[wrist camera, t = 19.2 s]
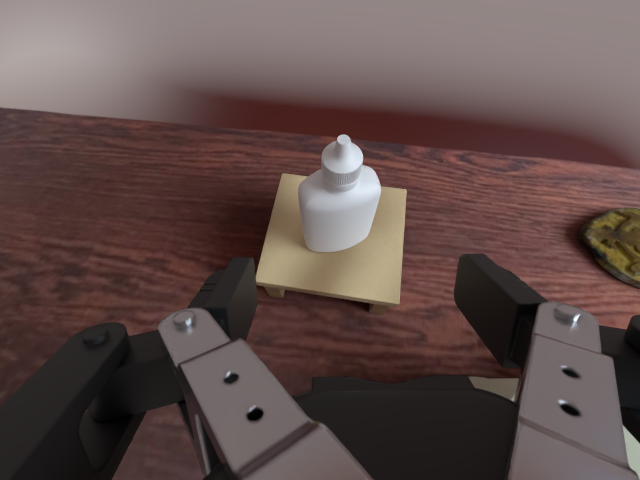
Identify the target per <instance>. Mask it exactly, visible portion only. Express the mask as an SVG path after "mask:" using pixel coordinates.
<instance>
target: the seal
mask: <svg viewBox="0 0 640 480" xmlns="http://www.w3.org/2000/svg"><path fill="white" fill-rule="evenodd" d="M579 238H580V240H581V241H582V242H584V243H585V244H586V246H587V247H588V248H589V250H591V251H592V252H593V253H594V255H595V260H596V261H597V262H598V263H599V264H600V265H601V266H602V267H603V268H604V269H605V270H607V271H608V272H609V273H611V274H612V275H613V276H615V277H616V278H618V279H620V280H622V281H623V282H625V283H627V284H629V285H632V286H634V287H638V288H640V209H636V208H621V209H616V210H611V211H608V212H605V213H603V214H601V215H599V216H597V217H595V218H593V219H591V220H590V221H588V222H587V223H586V224H584V225H583V226H582V228H581V229H580V232H579Z"/></svg>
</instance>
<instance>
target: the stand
mask: <svg viewBox="0 0 640 480" xmlns="http://www.w3.org/2000/svg"><path fill="white" fill-rule="evenodd" d="M306 178H307V176H300V175H292V174H285V173H282V175H281V179H280V183H279V187H278V191H277V195H276V199H275V203H274V207H273V210H272V214H271V218H270V222H269V226H268V230H267V234H266V238H265V242H264V246H263V249H262V253H261V257H260V261H259V265H258V269H257V273H256V284H257V285H260V286H264V288H265V289H266V291H267V292H268V294H269V296H271V297H277V298H284V293H285V290H291V291H297V292H303V293H309V294H316V295H322V296H328V297H334V298H341V299H347V300H353V301H359V302H366V303H369V312H370V313H376V314H383V313H384V312H385V311H386V310H387V309H388V308H389V307H390V306H391V307H397V306H398V305H399V301H400V285H401V270H402V254H403V238H404V223H405V207H406V191H407V190H405V189H398V188H390V187H383V186H381V194H380V198H379V202H378V205H377V209H376V212H375V215H374V219H373V222H372V225H371V228H370V231H369V234H368V236H367V237H366V238H365V239H364V240H362V241H361V242H360V243H358V244H356V245H354V246H352V247H350V248H348V249H345V250H341V251H336V252H315V251H311V250H310V249H308V247H307V246H306V243H305V239H304V235H303V230H302V223H301V215H300V208H299V199H298V187H299V185H300V184H301V182H302V181H304V180H305V179H306Z"/></svg>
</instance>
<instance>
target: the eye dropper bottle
mask: <svg viewBox="0 0 640 480" xmlns="http://www.w3.org/2000/svg"><path fill="white" fill-rule="evenodd" d="M362 163H363V154H362V152H361V150H360V149H359V147H358V146H356V145H355V144H353V143H351V141H350V138H349V136H347V135H340V136H339V137H338V138H337V141H336V142H333V143H330V144H329V145H328V146H327V147H326V148H324V150H323V153H322V157H321V169H320V170H318V171H316V172H315V173H313V174H312V175H310V176H309V177H307V178H306V179H305V180H304V181H302V182H301V184H300V185H299V187H298V199H299V208H300V215H301V223H302V230H303V235H304V239H305V243H306V246H307V247H308V249H310V250H311V251H315V252H336V251H341V250H345V249H348V248H350V247H352V246H354V245H356V244H358V243H360V242H361V241H362V240H364V239H365V238H366V237H367V236H368V234H369V231H370V228H371V225H372V222H373V219H374V215H375V212H376V209H377V205H378V202H379V198H380V194H381V186H380V182H379V180H378V177H377V175H376V173H375V171H374V170H373V169H372V168H370V167H368V166H364V165H362Z"/></svg>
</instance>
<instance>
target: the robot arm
mask: <svg viewBox="0 0 640 480" xmlns="http://www.w3.org/2000/svg"><path fill="white" fill-rule="evenodd" d="M454 298H455V303H456V305H457V307H458V308H459V310H460V311H461V312H462V314H463V315H464V316H465V318H466V319H467V320H468V322H469V323H470V324H471V326H472V327H473V329H474V330H475V331H476V333H477V334H478V335H479V337H480V338H481V339H482V341H483V342H484V343H485V345H486V346H487V348H488V349H489V350H490V352H491V353H492V354H493V356H494V357H495V358H496V360H497V361H498V363H499V364H500V365H501V367H502V368H519V367H520V368H521V372H520V376H519V380H518V385H517V389H516V394H515V398H514V402H513V401H511V400H509V399H507V398H505V397H503V396H500V395H498V394H495V393H492V392H490V391H486V390H482V389H479V388H474V386H473V384H472V382H471V381H470V379H469V377H468V375H430V376H425V377H421V378H417V379H412V380H408V381H404V382H400V383H396V384H387V383H381V382H376V381H371V380H365V379H360V378H354V377H312V390H309V391H305V392H302V393H299V394H297V395H295V396H293V397H291V396H290V395H289V393H288V392H287V391H286V390H285V389H284V387H283V386H282V385H281V384H280V383H279V382H278V380H277V379H276V378H275V377H274V376H273V374H272V373H271V372H270V371H269V370H268V368H267V367H266V366H265V365H264V364H263V363H262V361H261V360H260V359H259V358H258V357H257V355H256V354H255V353H254V352H253V351H252V349H251V348H250V347H249V346H248V345H247V343H246V338H247V335H248V332H249V329H250V326H251V323H252V320H253V317H254V314H255V311H256V307H257V287H256V277H255V267H254V260H253V258H252V257H234V258H232V259H231V261H230V262H229V264H228V266H227V267H226V269H225V270H218V271H216V272H215V273H213V274H212V275H210V276H209V277H208V278H207V280H206V281H205V283H204V285H203V286H202V287H201V289H200V292H198V293H197V294H196V296H195V297H194V299H193V300H192V302H191V303H190V305H189V306H188V307H187V308H185V309H181V310H178V311H175V312H173V313H171V314H169V315H167V316H166V317H165V318H163V319H162V320H161V322H160V323H159V325H158V330H156V331H152V332H147V333H142V334H137V335H132V336H128V333H127V330H126V327H125V326H124V325H123V324H120V323H104V324H99V325H95V326H92V327H90V328H87V329H85V330H83V331H81V332H79V333H77V334H76V335H74V336H73V337H72V338H71V339H69V340H68V341H67V342H66V343H65V344H64V345H63V346H62V347H61V348H60V349H59V350H58V351H57V352H56V353H55V354H54V355H53V356H52V357H51V358H50V359H49V360H48V361H47V362H46V363H45V364H44V365H43V366H41V367H40V368H39V369H38V370H37V371H36V372H35V373H34V374H33V375H32V376H31V377H30V378H29V379H28V380H27V381H26V382H25V383H24V384H23V385H22V386H21V387H20V388H19V389H18V390H17V391H16V392H15V393H14V394H13V395H12V396H11V397H10V398H8V399H7V400H6V401H5V402H4V403H3V404H2V405H1V406H0V480H112V478H113V476H114V474H115V472H116V470H117V468H118V466H119V464H120V462H121V460H122V458H123V456H124V454H125V452H126V450H127V448H128V447H129V445H130V443H131V441H132V439H133V437H134V435H135V433H136V431H137V429H138V427H139V425H140V423H141V421H142V419H143V417H144V415H145V414H146V411H148V410H152V409H155V408H159V407H163V406H166V405H170V404H173V403H176V405H177V408H178V410H179V413H180V415H181V417H182V420H183V422H184V425H185V427H186V430H187V432H188V434H189V437H190V439H191V442H192V444H193V447H194V449H195V452H196V454H197V457H198V460H199V464H200V467H201V470H202V473H203V477H204V479H203V480H640V479H639V477H638V475H637V473H636V472H635V471H634V470H632V469H631V468H630V466H629V464H628V458H627V452H626V445H625V438H624V431H623V426H624V427H625V428H626V429H627V430H628V431H629V432H630V434H631V435H632V436H633V437H634V438H635V439H636V440H637V441H638V442H639V443H640V315H636V316H633V317H632V318H631V320H630V323H629V325H628V328H627V330H625V329H619V328H613V327H606V326H600V325H599V324H598V321H597V319H596V318H595V317H594V316H593V315H591V314H590V313H588V312H587V311H585V310H583V309H581V308H578V307H576V306H573V305H569V304H565V303H560V302H548V301H547V300H546V299H545V298H543V297H542V296H541V295H540V294H538V293H537V292H536V291H535V290H533V289H532V288H531V287H528V285H527V284H526V283H525V282H523V281H521V280H520V278H518V277H517V276H516V275H515V274H513V273H512V272H510V271H508V270H506V269H504V268H502V267H500V266H498V265H497V264H495V263H494V262H493V261H492V260H490V259H489V258H488V257H487V256H486V255H484V254H462V255H461V256H460V258H459V263H458V269H457V275H456V282H455V288H454ZM87 408H88V410H87ZM86 410H87V412H86V413H85V411H86ZM84 413H85V415H84ZM83 415H84V416H83Z"/></svg>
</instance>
